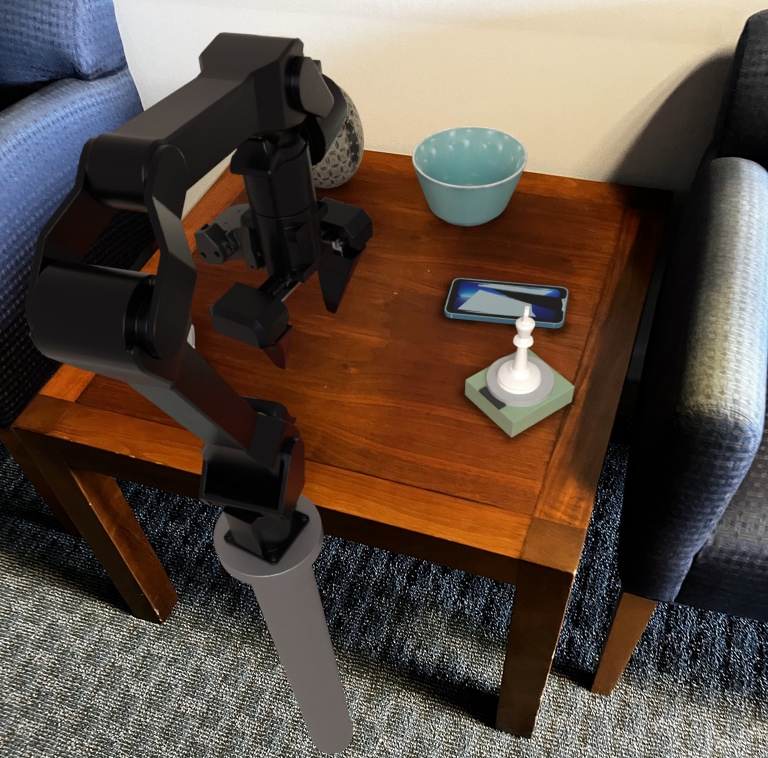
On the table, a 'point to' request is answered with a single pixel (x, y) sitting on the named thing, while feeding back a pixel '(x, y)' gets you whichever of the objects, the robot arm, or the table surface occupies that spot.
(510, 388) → the chess piece
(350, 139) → the decorative egg
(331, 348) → the table surface
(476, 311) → the smartphone
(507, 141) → the bowl
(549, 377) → the scale
